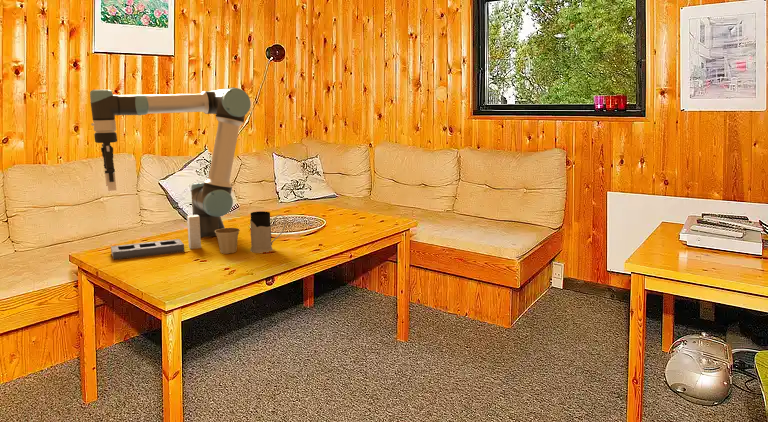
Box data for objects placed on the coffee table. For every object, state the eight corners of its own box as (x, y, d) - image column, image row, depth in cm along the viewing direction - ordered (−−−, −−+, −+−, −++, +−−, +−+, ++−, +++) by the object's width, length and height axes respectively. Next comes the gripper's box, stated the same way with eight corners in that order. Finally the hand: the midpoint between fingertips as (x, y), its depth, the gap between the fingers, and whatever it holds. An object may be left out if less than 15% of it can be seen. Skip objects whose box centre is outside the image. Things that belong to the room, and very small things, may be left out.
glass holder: (249, 248, 220) (247, 211, 218) (284, 245, 225) (283, 209, 223) (251, 253, 212) (250, 215, 210) (288, 250, 217) (287, 213, 215)
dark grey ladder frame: (179, 246, 223) (179, 238, 222) (184, 251, 214) (183, 244, 214) (111, 253, 210) (110, 246, 210) (113, 260, 202) (112, 252, 201)
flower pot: (214, 255, 209) (213, 233, 208) (216, 249, 219) (215, 228, 217) (239, 254, 211) (238, 232, 210) (241, 248, 220) (240, 227, 219)
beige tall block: (199, 245, 224) (197, 214, 221) (201, 247, 220) (199, 216, 218) (188, 246, 222) (187, 215, 219) (190, 249, 218) (188, 217, 216)
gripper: (92, 130, 213) (98, 184, 217) (95, 133, 192) (101, 193, 196) (114, 130, 217) (119, 183, 221) (118, 133, 195) (124, 191, 200)
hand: (111, 188), depth 209 cm, fingers open, 13 cm apart
